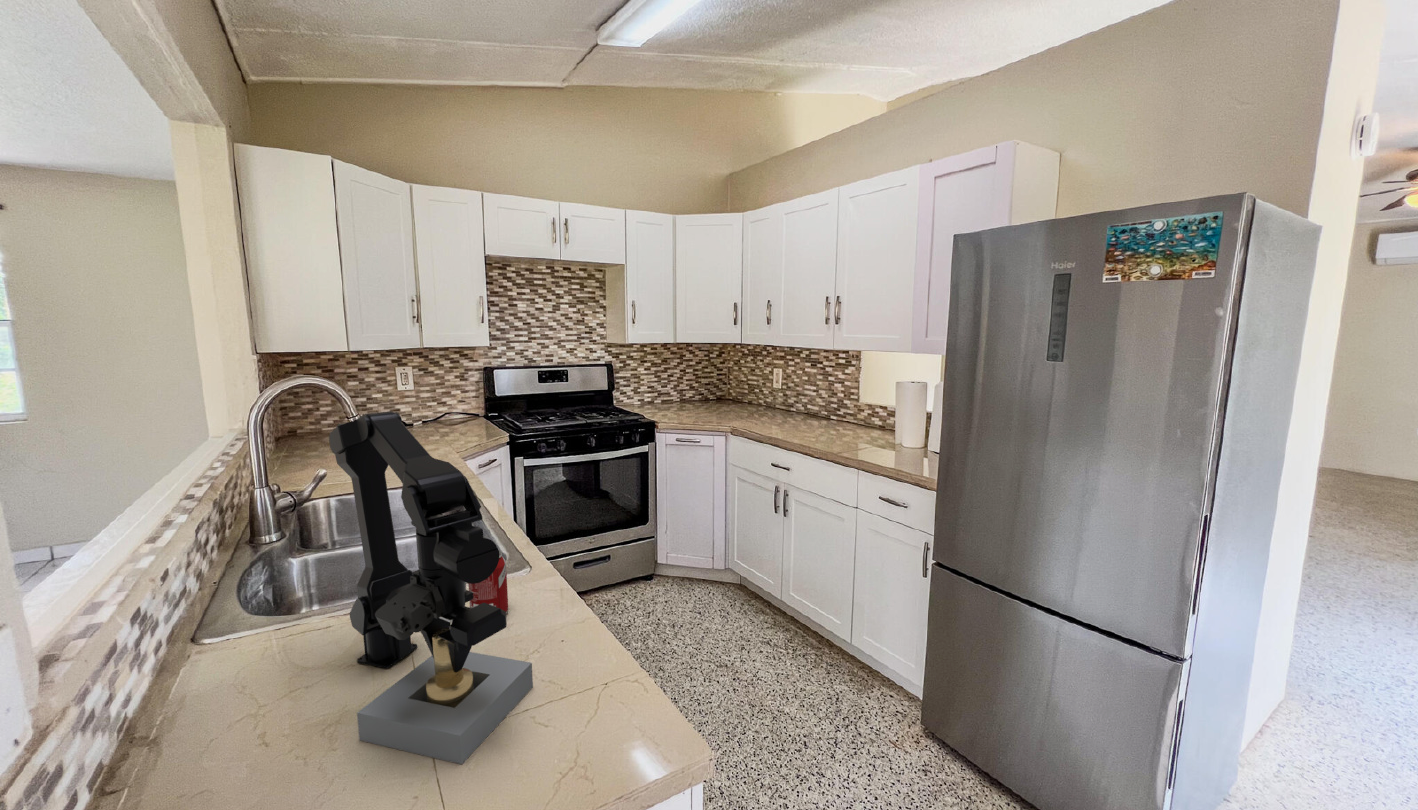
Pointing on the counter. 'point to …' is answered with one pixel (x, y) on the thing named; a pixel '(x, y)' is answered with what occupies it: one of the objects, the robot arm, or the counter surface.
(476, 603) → the soda can
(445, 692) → the stepped shaft
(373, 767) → the counter surface
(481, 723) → the housing
